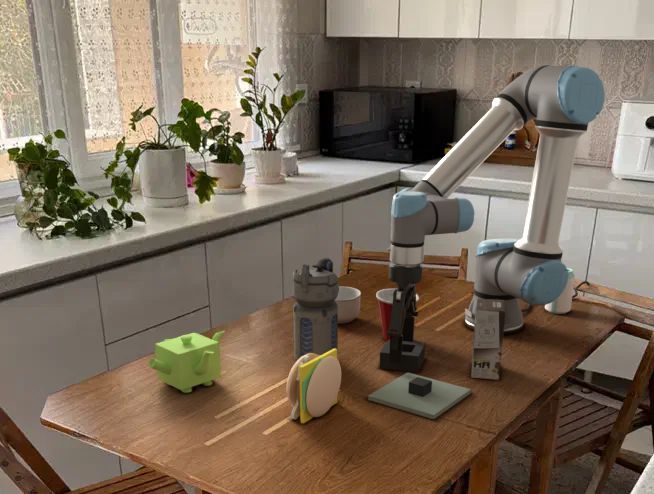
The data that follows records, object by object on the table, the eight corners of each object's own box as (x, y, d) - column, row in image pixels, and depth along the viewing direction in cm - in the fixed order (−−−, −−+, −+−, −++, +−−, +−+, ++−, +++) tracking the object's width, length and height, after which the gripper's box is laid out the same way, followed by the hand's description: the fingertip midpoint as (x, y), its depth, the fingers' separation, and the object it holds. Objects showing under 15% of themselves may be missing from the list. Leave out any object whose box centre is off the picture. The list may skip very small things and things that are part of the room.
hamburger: (313, 395, 167) (313, 343, 162) (346, 405, 163) (346, 351, 158) (279, 416, 158) (277, 360, 153) (312, 426, 154) (312, 369, 149)
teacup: (367, 318, 215) (368, 290, 212) (347, 329, 207) (347, 300, 204) (325, 309, 222) (325, 282, 219) (303, 320, 214) (303, 292, 210)
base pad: (407, 376, 177) (407, 362, 176) (470, 393, 168) (472, 378, 167) (367, 399, 165) (367, 384, 164) (433, 419, 157) (434, 403, 155)
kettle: (227, 370, 180) (224, 324, 176) (221, 396, 167) (218, 347, 163) (162, 371, 180) (157, 325, 175) (150, 397, 167) (145, 347, 162)
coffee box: (499, 380, 175) (506, 311, 168) (470, 378, 176) (475, 309, 170) (499, 365, 183) (505, 299, 177) (471, 363, 184) (477, 297, 178)
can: (550, 305, 225) (554, 264, 220) (573, 309, 221) (579, 268, 217) (540, 311, 220) (545, 270, 215) (564, 316, 216) (570, 274, 211)
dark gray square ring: (388, 354, 189) (388, 339, 188) (424, 358, 187) (425, 343, 185) (379, 368, 181) (379, 352, 180) (417, 372, 179) (418, 356, 177)
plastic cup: (396, 350, 192) (398, 303, 188) (366, 339, 200) (366, 293, 195) (426, 340, 199) (428, 294, 194) (395, 329, 206) (397, 285, 202)
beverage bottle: (348, 357, 188) (349, 255, 178) (324, 377, 177) (324, 269, 167) (311, 351, 192) (310, 250, 182) (285, 369, 181) (282, 263, 171)
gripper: (401, 249, 187) (397, 333, 195) (376, 275, 165) (373, 369, 173) (432, 252, 185) (426, 337, 193) (411, 278, 163) (406, 373, 171)
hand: (401, 352), depth 183 cm, fingers open, 13 cm apart
